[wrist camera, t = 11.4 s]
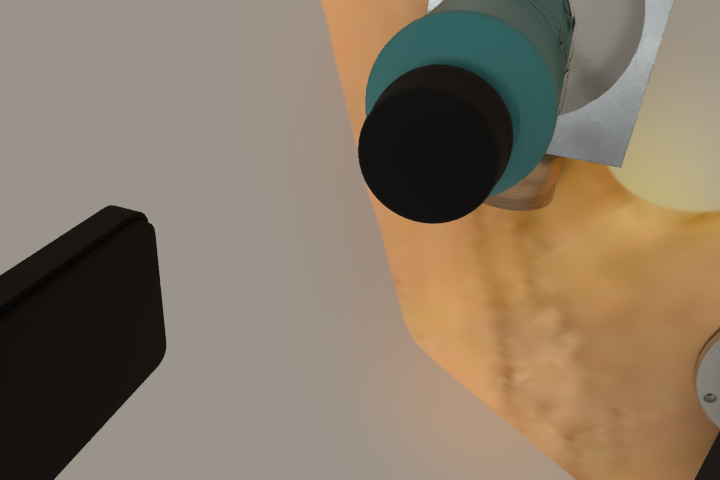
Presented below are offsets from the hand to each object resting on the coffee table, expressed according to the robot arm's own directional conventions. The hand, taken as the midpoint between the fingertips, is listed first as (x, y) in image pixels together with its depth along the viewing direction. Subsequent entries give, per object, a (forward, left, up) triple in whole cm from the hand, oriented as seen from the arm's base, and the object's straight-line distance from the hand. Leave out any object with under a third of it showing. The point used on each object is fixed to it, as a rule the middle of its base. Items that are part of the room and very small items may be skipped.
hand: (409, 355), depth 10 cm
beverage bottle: (0, +1, -28) cm, 28 cm away
